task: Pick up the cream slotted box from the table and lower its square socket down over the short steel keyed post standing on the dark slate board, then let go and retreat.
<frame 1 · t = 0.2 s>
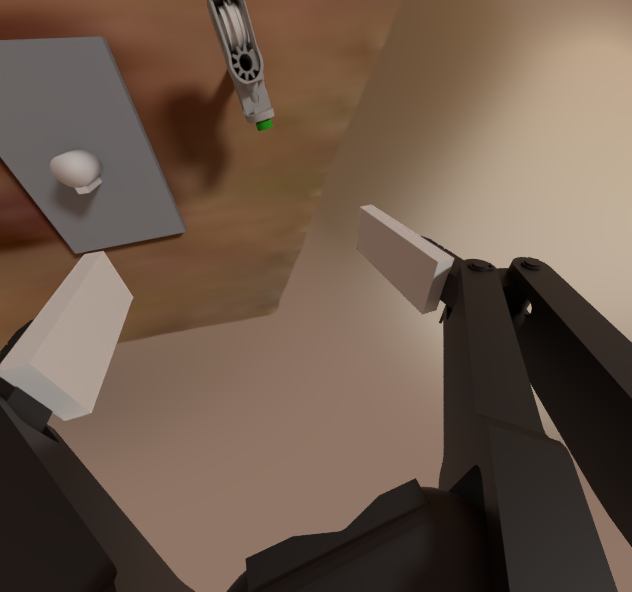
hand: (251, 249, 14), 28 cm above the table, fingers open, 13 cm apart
mechanical component: (235, 70, 30), on the table
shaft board: (90, 161, 30), on the table
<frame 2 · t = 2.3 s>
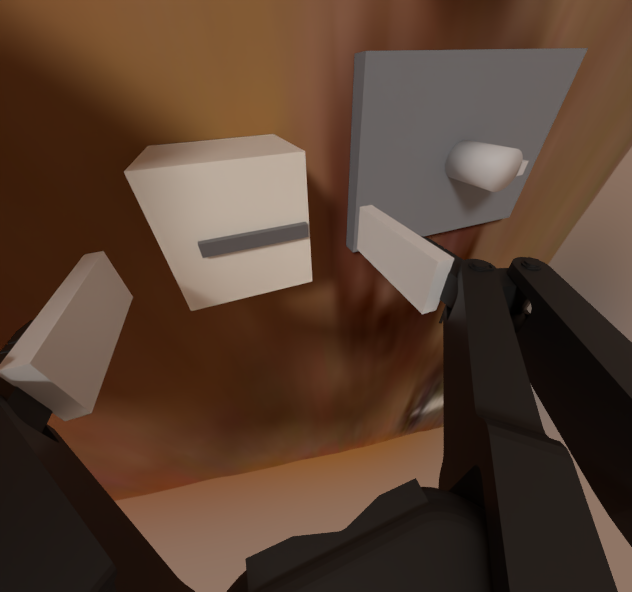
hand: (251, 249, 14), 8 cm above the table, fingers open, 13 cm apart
cream slotted box: (229, 200, 19), on the table
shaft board: (447, 156, 23), on the table
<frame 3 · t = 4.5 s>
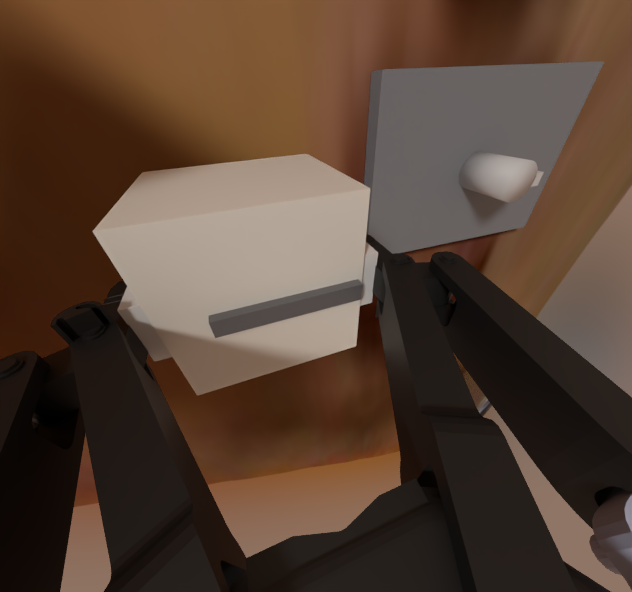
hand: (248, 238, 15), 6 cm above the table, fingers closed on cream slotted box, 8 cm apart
cream slotted box: (247, 236, 15), point 6 cm above the table, touching gripper
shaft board: (461, 167, 24), on the table
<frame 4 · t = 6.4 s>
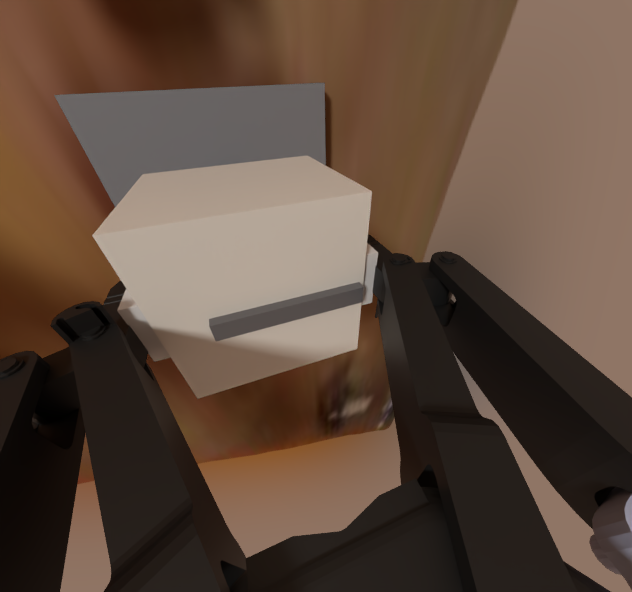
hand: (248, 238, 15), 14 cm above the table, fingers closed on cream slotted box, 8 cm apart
cream slotted box: (247, 238, 15), point 14 cm above the table, touching gripper
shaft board: (227, 178, 25), on the table
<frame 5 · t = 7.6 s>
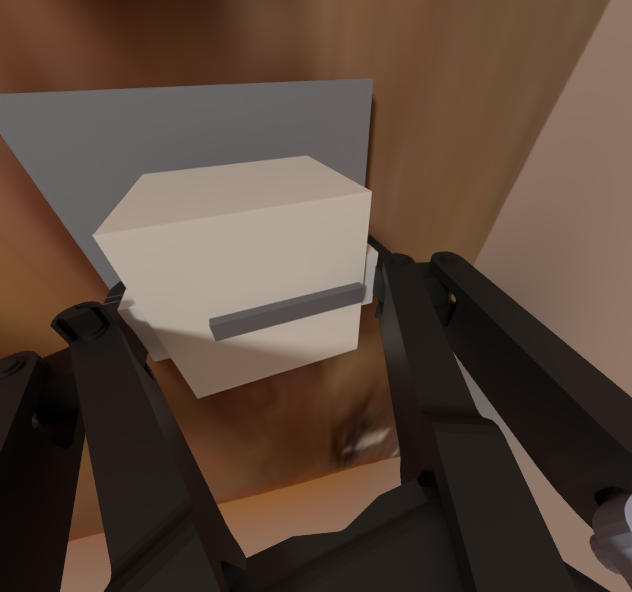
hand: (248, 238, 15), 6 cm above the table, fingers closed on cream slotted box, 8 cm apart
cream slotted box: (248, 238, 15), point 6 cm above the table, touching gripper
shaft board: (236, 206, 19), on the table
when the fingers open (3 cm above the table, at t = 8.5 s): cream slotted box drops 1 cm, resting on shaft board.
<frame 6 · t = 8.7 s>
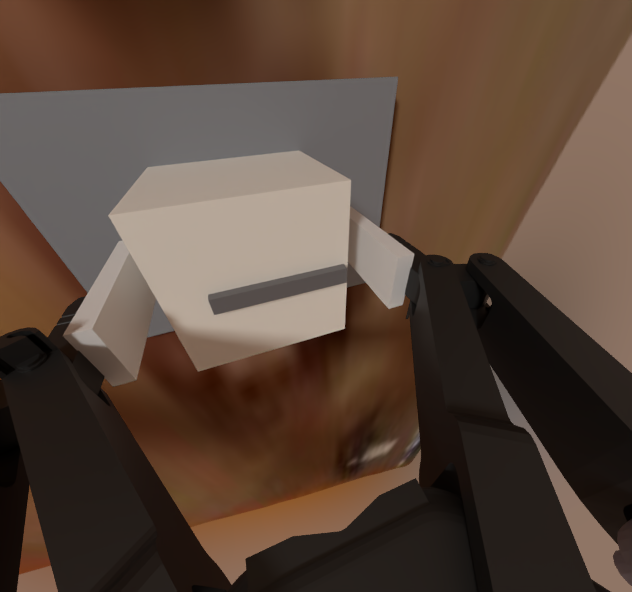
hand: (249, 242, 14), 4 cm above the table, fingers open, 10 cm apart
cream slotted box: (244, 227, 16), point 1 cm above the table, touching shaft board
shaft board: (242, 218, 17), on the table
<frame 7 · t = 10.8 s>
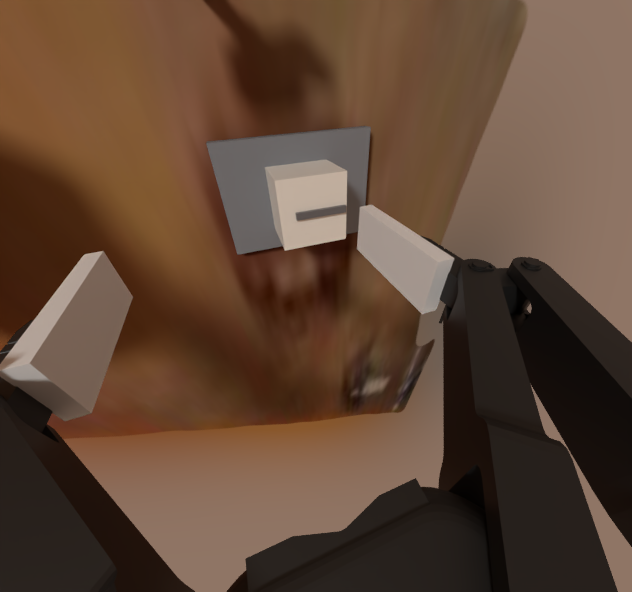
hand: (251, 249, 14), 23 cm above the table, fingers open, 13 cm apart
cream slotted box: (299, 195, 34), point 1 cm above the table, touching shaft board
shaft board: (296, 192, 35), on the table
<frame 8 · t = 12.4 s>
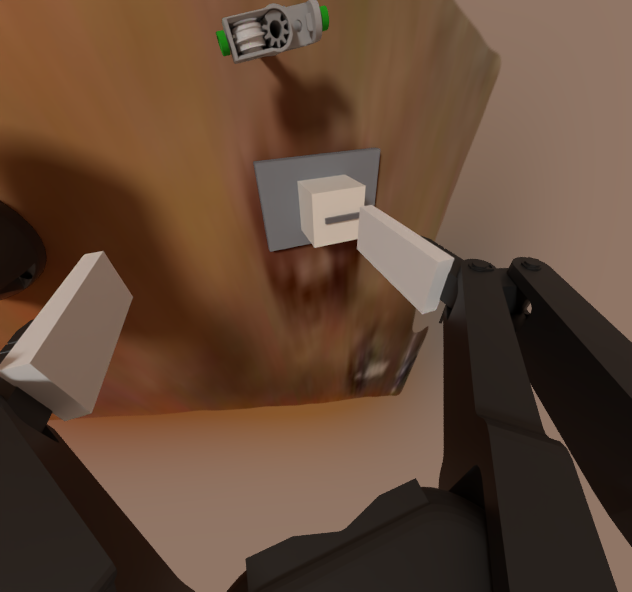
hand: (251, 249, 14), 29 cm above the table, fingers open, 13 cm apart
cream slotted box: (322, 203, 42), point 1 cm above the table, touching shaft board
mechanical component: (258, 45, 30), on the table
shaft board: (319, 200, 43), on the table
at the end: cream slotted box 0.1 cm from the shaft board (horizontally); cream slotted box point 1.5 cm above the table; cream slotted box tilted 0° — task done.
